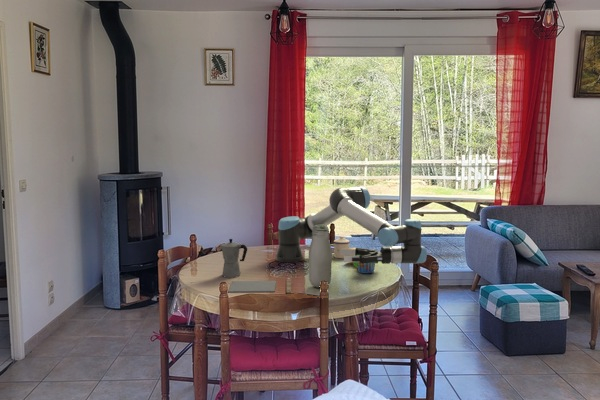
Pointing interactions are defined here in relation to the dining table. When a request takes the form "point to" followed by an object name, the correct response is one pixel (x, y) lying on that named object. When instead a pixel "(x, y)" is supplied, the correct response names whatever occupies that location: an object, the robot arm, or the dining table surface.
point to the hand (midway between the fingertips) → (342, 255)
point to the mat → (252, 286)
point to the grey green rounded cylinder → (320, 256)
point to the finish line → (288, 286)
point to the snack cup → (365, 266)
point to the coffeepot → (232, 258)
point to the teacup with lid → (340, 246)
